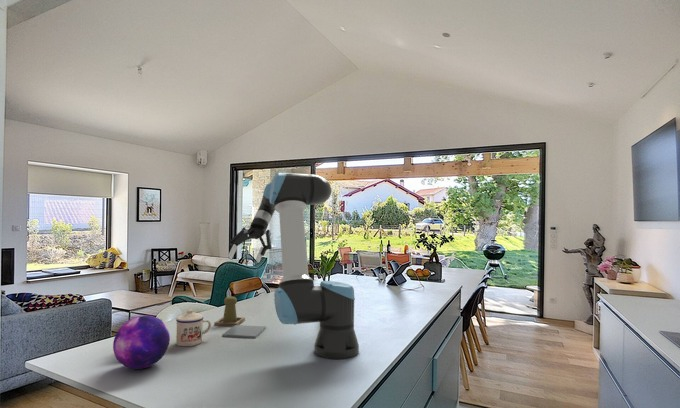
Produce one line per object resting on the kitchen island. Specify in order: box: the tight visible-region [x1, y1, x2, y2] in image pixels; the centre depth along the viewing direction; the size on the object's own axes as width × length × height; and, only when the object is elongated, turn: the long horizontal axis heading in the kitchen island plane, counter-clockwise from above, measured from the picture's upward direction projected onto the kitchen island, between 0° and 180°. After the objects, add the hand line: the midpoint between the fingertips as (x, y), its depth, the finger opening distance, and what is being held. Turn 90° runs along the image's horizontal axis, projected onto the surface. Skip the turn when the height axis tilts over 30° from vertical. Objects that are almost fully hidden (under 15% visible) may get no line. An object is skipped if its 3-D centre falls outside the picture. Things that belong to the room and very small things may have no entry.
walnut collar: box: [213, 316, 246, 327], centre depth 163 cm, size 10×10×1 cm
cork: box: [222, 296, 238, 323], centre depth 163 cm, size 6×6×11 cm
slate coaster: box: [221, 324, 267, 339], centre depth 149 cm, size 13×13×1 cm
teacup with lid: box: [175, 308, 212, 347], centre depth 137 cm, size 12×9×12 cm
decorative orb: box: [112, 314, 171, 370], centre depth 114 cm, size 15×15×15 cm
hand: (243, 259), depth 166 cm, fingers open, 13 cm apart
